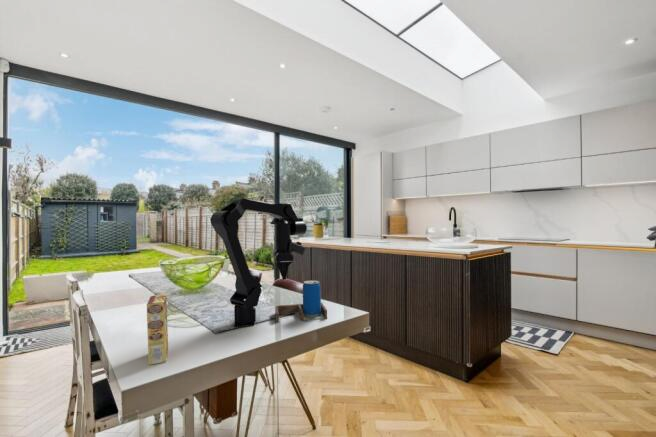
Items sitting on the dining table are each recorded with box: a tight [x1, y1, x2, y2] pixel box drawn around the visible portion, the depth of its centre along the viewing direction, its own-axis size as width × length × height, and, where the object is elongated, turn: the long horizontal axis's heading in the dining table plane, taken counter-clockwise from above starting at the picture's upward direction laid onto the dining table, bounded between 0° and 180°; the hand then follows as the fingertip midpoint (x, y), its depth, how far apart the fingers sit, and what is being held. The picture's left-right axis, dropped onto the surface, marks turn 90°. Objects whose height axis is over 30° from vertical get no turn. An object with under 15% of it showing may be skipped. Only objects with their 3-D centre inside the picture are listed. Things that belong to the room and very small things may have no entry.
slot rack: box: [274, 302, 328, 323], centre depth 117 cm, size 18×10×3 cm, turn 101°
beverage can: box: [302, 279, 322, 317], centre depth 118 cm, size 6×6×12 cm
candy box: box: [146, 294, 169, 366], centre depth 84 cm, size 9×4×15 cm, turn 23°
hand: (283, 277), depth 124 cm, fingers open, 9 cm apart
